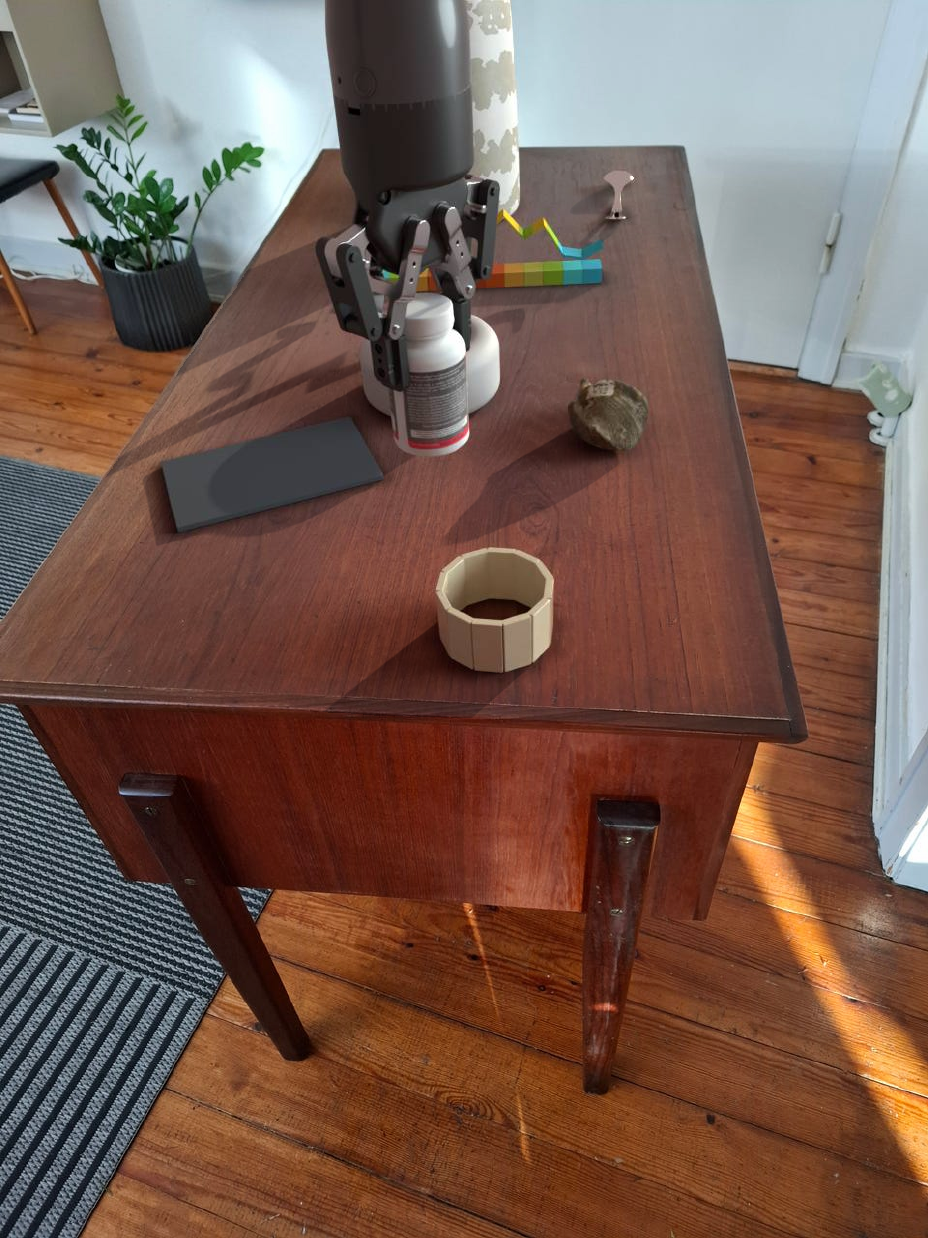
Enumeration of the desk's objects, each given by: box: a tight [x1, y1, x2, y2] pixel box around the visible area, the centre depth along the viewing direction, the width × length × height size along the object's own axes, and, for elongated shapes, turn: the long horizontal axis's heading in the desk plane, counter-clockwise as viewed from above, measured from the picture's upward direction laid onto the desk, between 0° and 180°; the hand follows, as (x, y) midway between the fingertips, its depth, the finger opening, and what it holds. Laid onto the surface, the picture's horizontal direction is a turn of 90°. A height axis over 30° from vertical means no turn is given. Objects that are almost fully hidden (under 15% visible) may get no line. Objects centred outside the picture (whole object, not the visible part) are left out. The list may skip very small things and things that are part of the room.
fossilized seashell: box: [567, 377, 650, 452], centre depth 89 cm, size 8×7×10 cm
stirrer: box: [603, 170, 635, 220], centre depth 135 cm, size 20×4×5 cm
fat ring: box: [358, 314, 501, 417], centre depth 97 cm, size 15×15×7 cm
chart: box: [383, 208, 604, 292], centre depth 114 cm, size 30×3×15 cm, turn 89°
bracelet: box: [434, 547, 555, 674], centre depth 69 cm, size 9×9×5 cm
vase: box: [466, 0, 521, 220], centre depth 126 cm, size 20×19×38 cm
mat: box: [160, 416, 384, 533], centre depth 89 cm, size 20×12×1 cm, turn 111°
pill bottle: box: [388, 292, 470, 458], centre depth 60 cm, size 5×5×10 cm
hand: (425, 367), depth 59 cm, fingers closed on pill bottle, 5 cm apart
